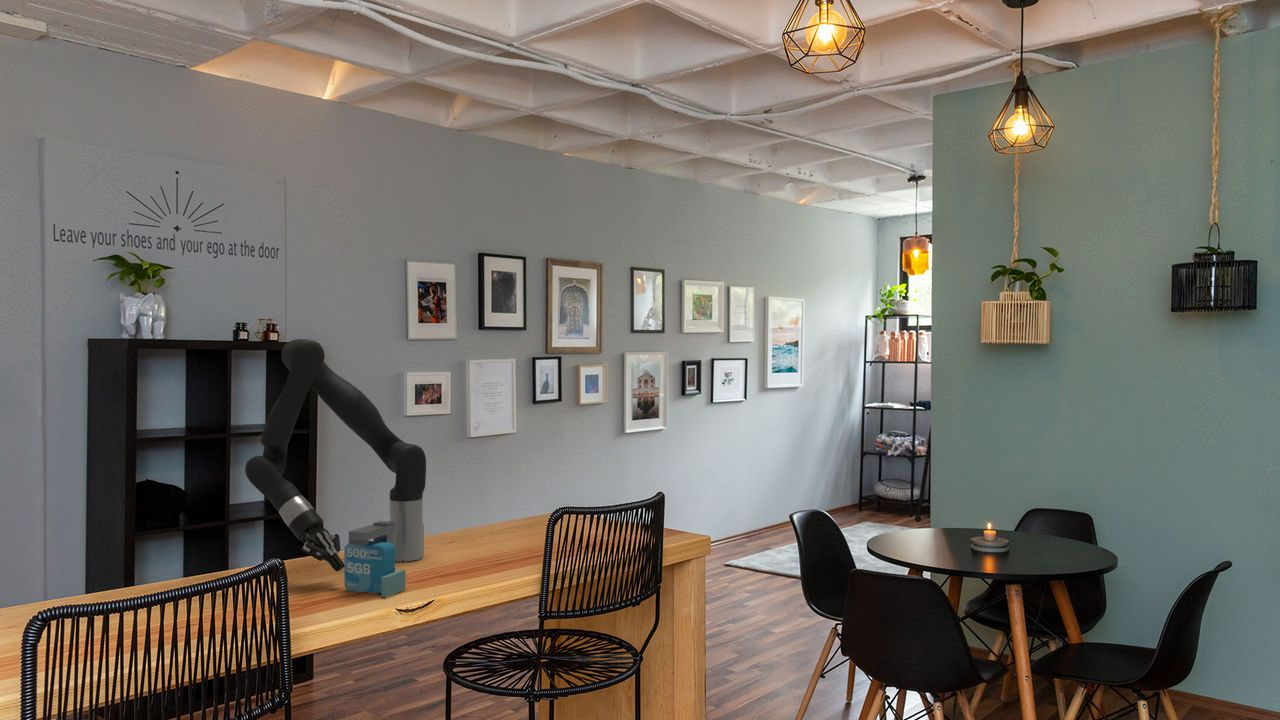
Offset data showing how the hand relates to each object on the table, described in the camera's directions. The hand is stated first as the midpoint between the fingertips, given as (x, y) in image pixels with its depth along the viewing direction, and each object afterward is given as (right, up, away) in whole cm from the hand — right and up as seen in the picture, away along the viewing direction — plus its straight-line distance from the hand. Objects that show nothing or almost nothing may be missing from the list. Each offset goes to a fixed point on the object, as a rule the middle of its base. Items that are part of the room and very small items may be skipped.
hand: (341, 568), depth 237 cm
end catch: (+15, -5, -5) cm, 16 cm away
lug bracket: (+8, -5, +1) cm, 10 cm away
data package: (+8, -5, -2) cm, 10 cm away
